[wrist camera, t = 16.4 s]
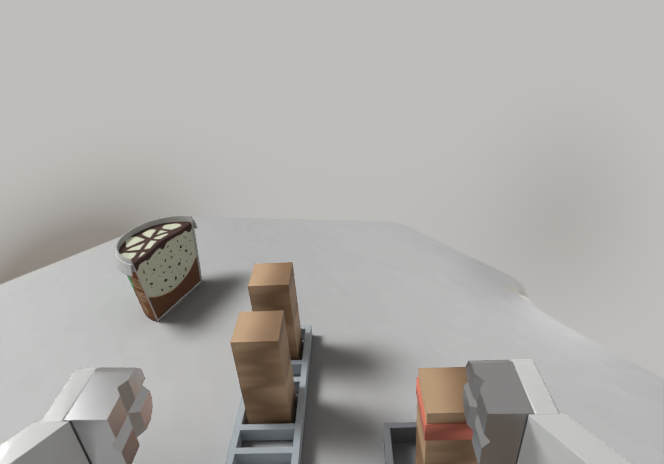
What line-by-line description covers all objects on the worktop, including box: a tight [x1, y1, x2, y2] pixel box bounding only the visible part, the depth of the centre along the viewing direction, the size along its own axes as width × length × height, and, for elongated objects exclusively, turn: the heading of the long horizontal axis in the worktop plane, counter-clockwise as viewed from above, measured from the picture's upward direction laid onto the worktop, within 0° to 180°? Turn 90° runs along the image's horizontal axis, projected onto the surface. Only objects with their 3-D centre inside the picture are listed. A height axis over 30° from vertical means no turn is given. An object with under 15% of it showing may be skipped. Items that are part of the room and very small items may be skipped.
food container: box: [115, 216, 202, 322], centre depth 62 cm, size 12×6×10 cm, turn 157°
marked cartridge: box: [415, 367, 478, 464], centre depth 35 cm, size 4×4×11 cm
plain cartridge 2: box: [230, 310, 296, 424], centre depth 43 cm, size 4×4×11 cm
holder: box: [225, 325, 312, 464], centre depth 45 cm, size 6×22×2 cm, turn 179°
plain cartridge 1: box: [248, 262, 302, 360], centre depth 50 cm, size 4×4×11 cm
